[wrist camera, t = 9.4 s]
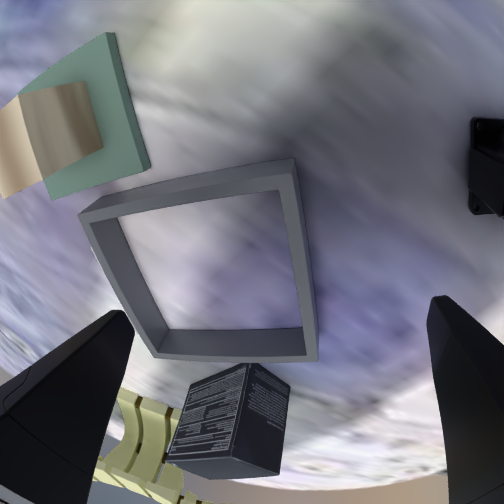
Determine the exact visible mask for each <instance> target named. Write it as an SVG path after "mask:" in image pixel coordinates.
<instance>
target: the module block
mask: <svg viewBox="0 0 504 504" xmlns="http://www.w3.org/2000/svg"><path fill="white" fill-rule="evenodd" d="M102 148H104V145H103V142H102V138H101V135H100V132H99V129H98V125H97V122H96V118H95V115H94V111H93V108H92V104H91V101H90V97H89V93H88V89H87V85H86V81H81V82H75V83H69V84H64V85H59V86H54V87H49V88H44V89H40V90H36V91H32V92H28V93H24V94H20V95H17V96H16V97H15V98H14V99H13V100H12V101H10V102H9V103H8V104H7V105H6V106H5V107H4V108H3V109H2V110H0V193H1V195H2V198H3V199H5V198H7V197H9V196H11V195H13V194H15V193H17V192H18V191H20V190H22V189H24V188H26V187H28V186H31V185H33V184H35V183H37V182H39V181H41V180H43V179H45V178H47V177H48V176H50V175H52V174H54V173H55V172H57V171H59V170H61V169H63V168H64V167H66V166H68V165H70V164H72V163H74V162H76V161H78V160H80V159H82V158H84V157H85V156H87V155H90V154H92V153H94V152H96V151H98V150H100V149H102Z"/></svg>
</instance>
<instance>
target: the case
mask: <svg viewBox="0 0 504 504" xmlns="http://www.w3.org/2000/svg"><path fill="white" fill-rule="evenodd" d="M272 190H279V193H280V198H281V204H282V209H283V214H284V219H285V225H286V230H287V236H288V241H289V247H290V253H291V258H292V264H293V270H294V276H295V282H296V288H297V294H298V300H299V306H300V313H301V319H302V326H303V328H288V329H262V330H169V328H168V327H167V325H166V323H165V321H164V319H163V317H162V315H161V313H160V311H159V309H158V307H157V305H156V303H155V301H154V299H153V297H152V295H151V293H150V291H149V289H148V287H147V285H146V283H145V281H144V279H143V277H142V275H141V273H140V270H139V268H138V266H137V264H136V262H135V259H134V257H133V255H132V253H131V251H130V248H129V246H128V244H127V241H126V239H125V237H124V234H123V232H122V230H121V227H120V225H119V222H118V220H117V217H120V216H125V215H130V214H134V213H139V212H145V211H150V210H155V209H160V208H165V207H171V206H176V205H182V204H188V203H193V202H199V201H205V200H211V199H218V198H224V197H230V196H237V195H244V194H250V193H257V192H265V191H272ZM78 217H79V220H80V222H81V224H82V226H83V229H84V231H85V233H86V235H87V238H88V240H89V242H90V244H91V249H92V251H93V254H94V256H95V258H96V260H97V262H98V264H99V266H100V268H101V269H103V271H104V273H105V275H106V277H107V279H108V280H109V282H110V284H111V286H112V288H113V290H114V292H115V294H116V295H117V297H118V299H119V301H120V303H121V304H122V306H123V308H124V310H125V311H126V313H127V315H128V319H129V320H130V322H131V324H132V326H133V327H134V329H135V331H136V332H137V334H139V335H140V337H141V338H142V340H143V342H144V343H145V345H146V346H147V348H148V349H149V351H150V353H151V354H152V356H153V357H154V358H160V359H172V360H186V361H203V362H230V363H288V362H315V361H318V349H319V330H318V320H317V311H316V302H315V293H314V285H313V277H312V269H311V261H310V254H309V246H308V239H307V232H306V226H305V219H304V213H303V206H302V200H301V194H300V188H299V182H298V176H297V170H296V165H295V159H294V158H289V159H282V160H275V161H268V162H262V163H256V164H250V165H244V166H238V167H232V168H227V169H221V170H216V171H211V172H205V173H200V174H196V175H191V176H186V177H181V178H177V179H172V180H168V181H163V182H159V183H155V184H150V185H146V186H142V187H138V188H134V189H130V190H126V191H123V192H119V193H115V194H111V195H108V196H104V197H100V198H99V199H98V200H96V201H95V202H94V203H92V204H91V205H90V206H88V207H87V208H86V209H84V210H83V211H82V212H81V213H79V214H78Z"/></svg>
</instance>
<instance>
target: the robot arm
mask: <svg viewBox="0 0 504 504" xmlns="http://www.w3.org/2000/svg"><path fill="white" fill-rule="evenodd" d="M478 122H479V123H480V127H479V128H477V123H478ZM468 187H469V189H470V194H469V210H470V212H471V213H472V214H474V215H482V214H496V215H497V216H498V217H502V218H503V219H504V119H498V118H486V117H474V118H473V119H472V120H471V150H470V152H469V185H468ZM475 205H477V207H476V208H475V209H474V206H475ZM427 333H428V340H429V347H430V355H431V363H432V372H433V379H434V384H435V389H436V394H437V400H438V405H439V411H440V416H441V423H442V429H443V436H444V444H445V452H446V462H447V473H448V488H449V504H504V345H503V344H502V343H501V342H500V341H499V340H498V339H496V338H495V337H494V336H493V335H492V334H491V333H490V332H489V331H488V330H487V329H486V328H484V327H483V326H482V325H481V324H480V323H479V322H478V321H477V320H475V319H474V318H473V317H472V316H471V315H470V314H468V313H467V312H466V311H465V310H464V309H463V308H461V307H460V306H459V305H458V304H457V303H456V302H454V301H453V300H452V299H451V298H450V297H448V296H446V295H442V296H435V297H433V298H432V299H431V303H430V308H429V312H428V317H427ZM134 336H135V330H134V327H133V326H132V324H131V322H130V320H129V319H128V317H127V315H126V314H125V312H124V311H122V310H111V311H109V312H108V313H106V314H105V315H103V316H102V317H100V318H99V319H97V320H96V321H94V322H93V323H91V324H90V325H89V326H87V327H86V328H84V329H83V330H81V331H80V332H78V333H77V334H75V335H74V336H72V337H71V338H70V339H68V340H67V341H65V342H64V343H62V344H61V345H59V346H58V347H57V348H55V349H54V350H52V351H51V352H49V353H48V354H47V355H45V356H44V357H42V358H41V359H39V360H38V361H37V362H35V363H34V364H33V365H32V366H30V367H28V368H27V369H25V370H24V371H22V372H21V373H20V374H18V375H17V376H15V377H14V378H12V379H11V380H9V381H8V382H6V383H5V384H3V385H1V386H0V504H87V500H88V496H89V492H90V488H91V484H92V480H93V475H94V471H95V468H96V464H97V460H98V457H99V453H100V450H101V446H102V443H103V439H104V436H105V433H106V429H107V426H108V423H109V420H110V417H111V413H112V410H113V407H114V404H115V401H116V398H117V395H118V392H119V389H120V386H121V383H122V380H123V377H124V374H125V370H126V367H127V363H128V359H129V355H130V351H131V347H132V343H133V339H134Z"/></svg>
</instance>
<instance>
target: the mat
mask: <svg viewBox="0 0 504 504" xmlns="http://www.w3.org/2000/svg"><path fill="white" fill-rule="evenodd" d="M81 81H86V85H87V89H88V93H89V97H90V101H91V104H92V108H93V111H94V115H95V118H96V122H97V125H98V129H99V132H100V135H101V138H102V142H103V145H104V148H102V149H100V150H98V151H96V152H94V153H92V154H90V155H87V156H85V157H84V158H82V159H80V160H78V161H76V162H74V163H72V164H70V165H68V166H66V167H64V168H63V169H61V170H59V171H57V172H55V173H54V174H52V175H50V176H48V177H47V178H45V179H43V180H44V183H45V185H46V188H47V191H48V193H49V196H50V198H51V201H53V200H55V199H58V198H61V197H64V196H67V195H69V194H72V193H75V192H78V191H81V190H84V189H87V188H90V187H93V186H97V185H100V184H103V183H106V182H109V181H113V180H116V179H119V178H123V177H126V176H130V175H133V174H137V173H141V172H144V171H146V170H147V169H148V168H150V167H151V166H150V163H149V160H148V156H147V153H146V150H145V147H144V143H143V140H142V137H141V134H140V130H139V127H138V123H137V120H136V117H135V113H134V109H133V106H132V102H131V99H130V95H129V91H128V88H127V84H126V80H125V76H124V72H123V68H122V64H121V60H120V56H119V52H118V47H117V43H116V39H115V34H114V33H108V32H105V33H103V34H102V35H100V36H98V37H96V38H95V39H93V40H91V41H90V42H88V43H86V44H85V45H83V46H81V47H80V48H78V49H77V50H75V51H74V52H72V53H71V54H69V55H68V56H66V57H65V58H63V59H62V60H60V61H59V62H57V63H56V64H55V65H53V66H52V67H50V68H49V69H48V70H46V71H45V72H44V73H42V74H41V75H40V76H38V77H37V78H36V79H35V80H33V81H32V82H31V83H29V84H28V85H27V86H26V87H25V88H23V89H22V90H21V91H20V92H19V93H18V95H20V94H24V93H28V92H32V91H36V90H40V89H44V88H49V87H54V86H59V85H64V84H69V83H75V82H81Z"/></svg>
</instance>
